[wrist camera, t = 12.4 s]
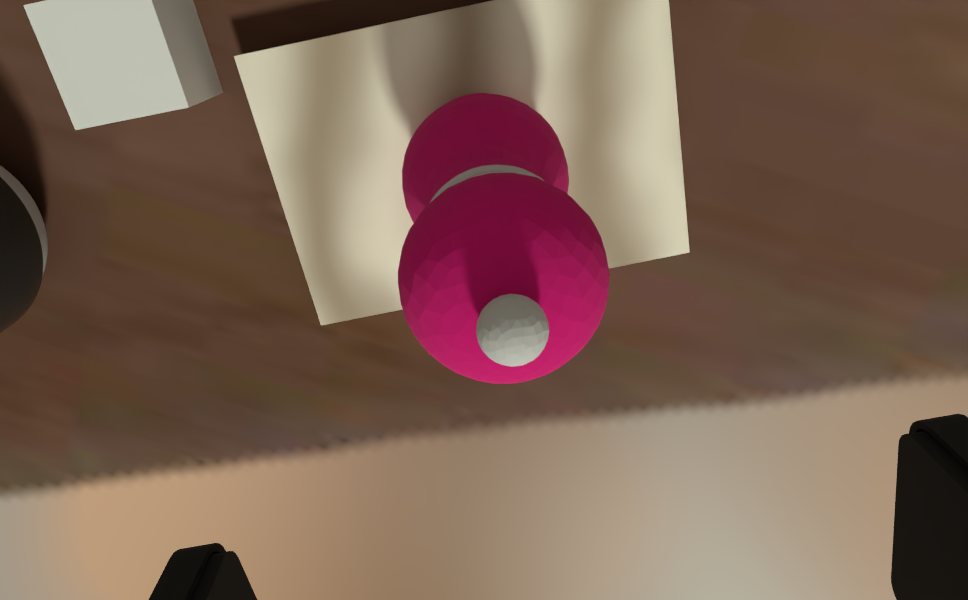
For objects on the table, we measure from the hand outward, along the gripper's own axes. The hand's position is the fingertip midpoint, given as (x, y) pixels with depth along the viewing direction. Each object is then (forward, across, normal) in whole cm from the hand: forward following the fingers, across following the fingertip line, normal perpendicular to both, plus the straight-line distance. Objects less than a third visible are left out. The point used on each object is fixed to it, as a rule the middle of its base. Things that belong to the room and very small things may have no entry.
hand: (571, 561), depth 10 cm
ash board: (+28, +1, 0) cm, 28 cm away
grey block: (+28, +15, -8) cm, 33 cm away
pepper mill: (+27, +1, 0) cm, 27 cm away
